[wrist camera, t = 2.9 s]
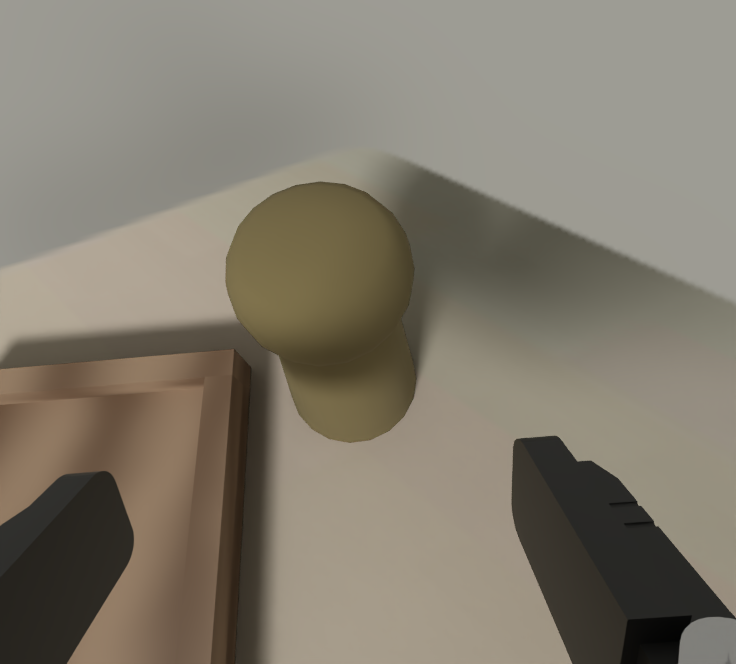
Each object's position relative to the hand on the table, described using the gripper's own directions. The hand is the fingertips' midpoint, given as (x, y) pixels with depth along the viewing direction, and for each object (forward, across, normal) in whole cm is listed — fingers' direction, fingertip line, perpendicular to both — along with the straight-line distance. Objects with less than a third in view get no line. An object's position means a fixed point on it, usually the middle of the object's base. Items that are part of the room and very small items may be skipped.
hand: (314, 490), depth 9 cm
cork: (+12, 0, +3) cm, 12 cm away
